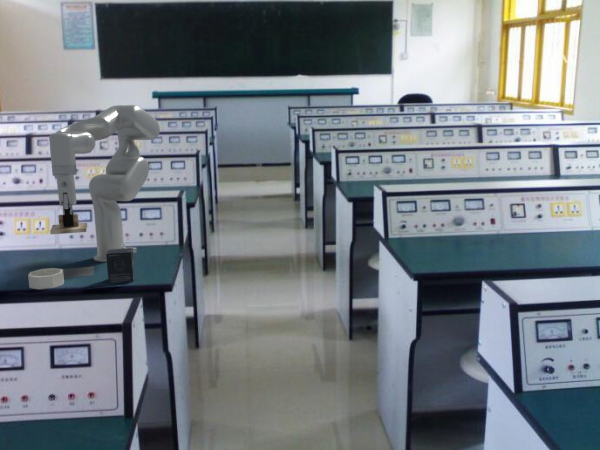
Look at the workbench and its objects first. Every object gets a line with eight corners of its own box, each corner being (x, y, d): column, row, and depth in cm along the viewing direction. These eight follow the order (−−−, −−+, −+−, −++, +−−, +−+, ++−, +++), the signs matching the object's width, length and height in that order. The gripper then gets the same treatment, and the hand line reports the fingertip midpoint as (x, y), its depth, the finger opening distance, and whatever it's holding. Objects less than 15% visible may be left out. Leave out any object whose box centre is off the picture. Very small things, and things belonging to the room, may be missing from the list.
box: (135, 278, 204) (132, 247, 202) (133, 283, 199) (131, 251, 197) (110, 280, 203) (108, 248, 201) (108, 285, 197) (105, 253, 195)
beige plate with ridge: (87, 226, 214) (85, 211, 213) (86, 232, 204) (85, 216, 203) (53, 228, 211) (51, 213, 210) (50, 234, 200) (49, 218, 199)
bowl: (64, 280, 204) (63, 267, 203) (62, 288, 194) (61, 274, 193) (32, 283, 201) (30, 270, 200) (28, 292, 191) (27, 278, 190)
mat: (94, 267, 218) (94, 266, 218) (93, 276, 207) (93, 275, 207) (57, 271, 215) (57, 269, 215) (55, 280, 204) (55, 278, 204)
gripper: (75, 172, 197) (80, 229, 200) (77, 168, 212) (81, 220, 215) (50, 173, 195) (55, 230, 198) (54, 169, 210) (58, 222, 213)
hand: (69, 225), depth 207 cm, fingers closed on beige plate with ridge
